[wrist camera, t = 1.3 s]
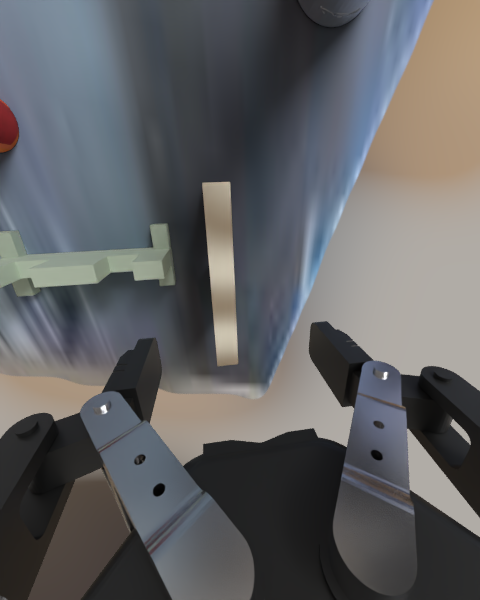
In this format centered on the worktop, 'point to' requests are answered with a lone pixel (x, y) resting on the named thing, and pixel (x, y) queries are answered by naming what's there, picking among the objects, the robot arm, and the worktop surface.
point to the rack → (83, 264)
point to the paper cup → (7, 128)
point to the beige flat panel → (221, 269)
